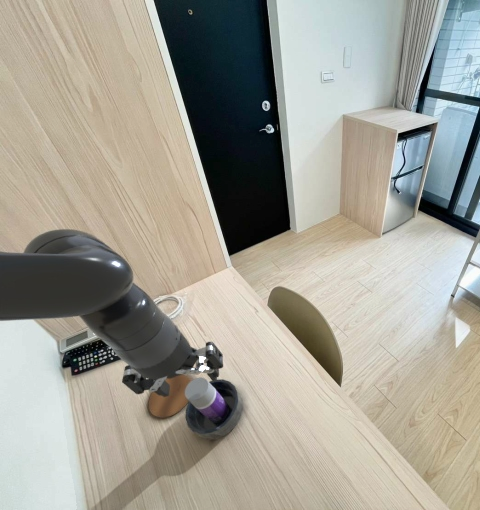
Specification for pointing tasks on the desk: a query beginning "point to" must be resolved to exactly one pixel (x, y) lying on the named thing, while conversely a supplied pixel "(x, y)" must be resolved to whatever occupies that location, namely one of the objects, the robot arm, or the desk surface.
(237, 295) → the desk surface
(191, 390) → the container
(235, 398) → the bowl
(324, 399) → the desk surface
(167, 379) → the coaster
